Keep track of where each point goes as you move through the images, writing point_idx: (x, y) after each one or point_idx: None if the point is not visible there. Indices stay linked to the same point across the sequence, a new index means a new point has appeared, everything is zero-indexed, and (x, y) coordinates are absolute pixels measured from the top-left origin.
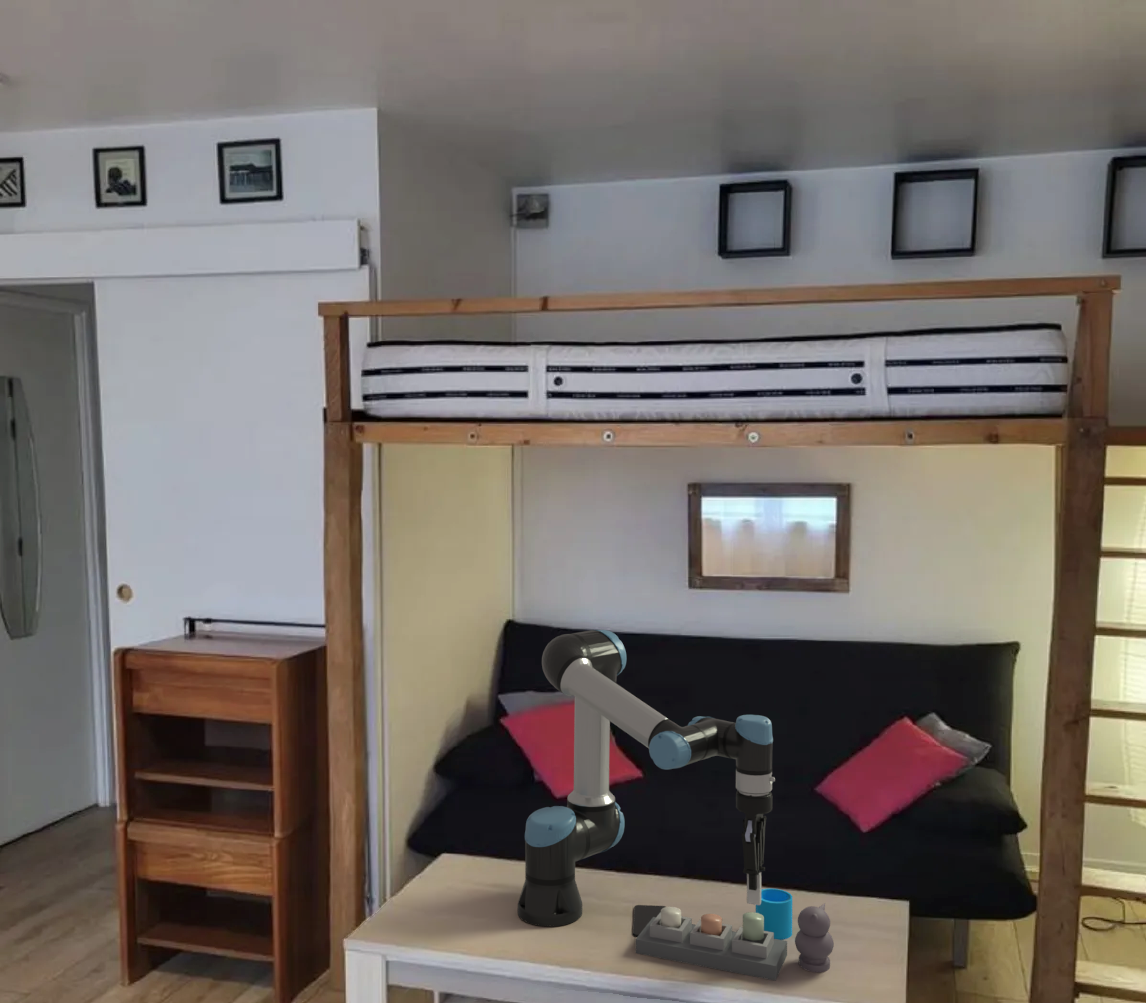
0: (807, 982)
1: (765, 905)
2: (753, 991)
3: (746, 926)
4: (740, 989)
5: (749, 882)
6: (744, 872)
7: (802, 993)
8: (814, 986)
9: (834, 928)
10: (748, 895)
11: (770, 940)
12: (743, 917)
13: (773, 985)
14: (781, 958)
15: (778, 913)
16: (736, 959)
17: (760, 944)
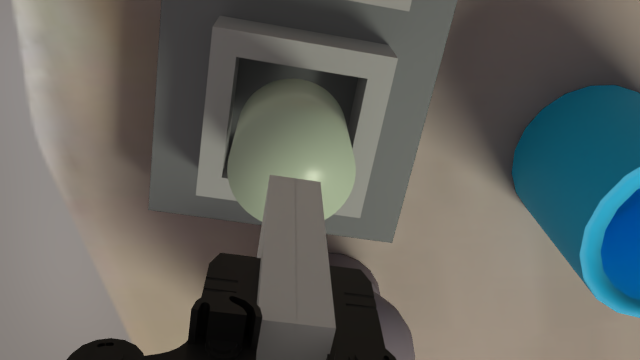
0: (189, 281)
1: (589, 192)
2: (43, 107)
3: (241, 123)
4: (37, 55)
5: (202, 296)
6: (199, 312)
7: (103, 268)
8: (168, 300)
9: (621, 351)
10: (265, 212)
11: None
12: (264, 118)
13: (123, 176)
14: None
15: (557, 235)
16: (159, 41)
17: (214, 167)
